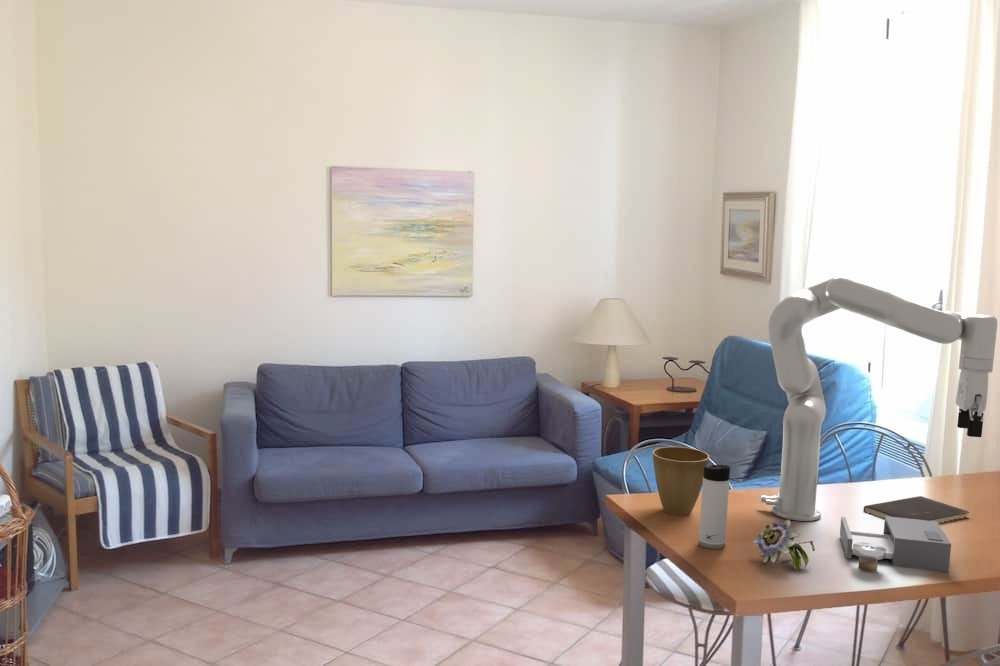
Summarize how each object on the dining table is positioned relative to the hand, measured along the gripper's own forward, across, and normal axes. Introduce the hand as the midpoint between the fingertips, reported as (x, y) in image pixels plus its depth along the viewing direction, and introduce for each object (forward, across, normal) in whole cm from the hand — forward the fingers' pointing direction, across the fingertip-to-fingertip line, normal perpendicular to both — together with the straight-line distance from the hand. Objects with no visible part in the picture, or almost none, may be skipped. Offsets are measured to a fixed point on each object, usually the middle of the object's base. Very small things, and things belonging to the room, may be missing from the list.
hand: (969, 432), depth 240 cm
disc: (+24, +29, -26) cm, 46 cm away
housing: (+28, +16, -13) cm, 35 cm away
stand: (+28, +29, -26) cm, 48 cm away
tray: (+27, +16, -23) cm, 39 cm away
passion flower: (+28, +30, -45) cm, 61 cm away
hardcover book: (+29, -20, -6) cm, 35 cm away
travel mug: (+28, +24, -61) cm, 71 cm away
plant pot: (+28, 0, -70) cm, 75 cm away
